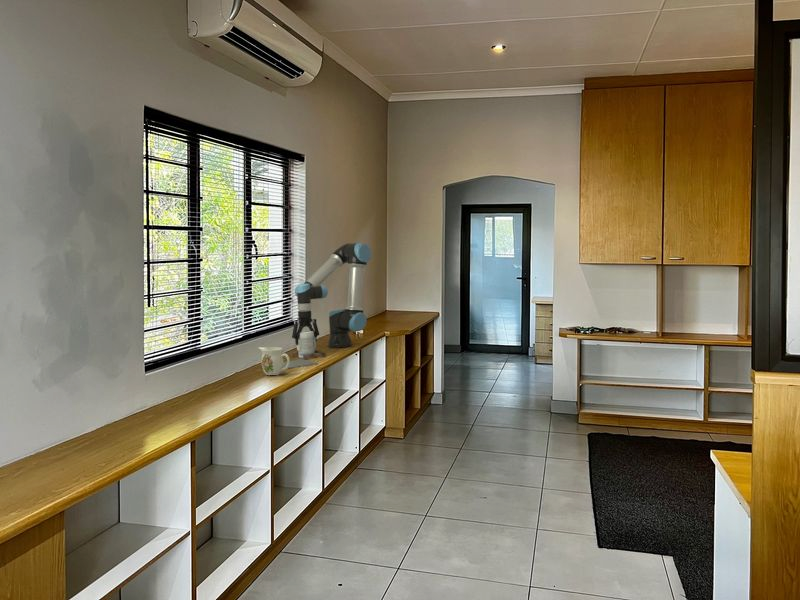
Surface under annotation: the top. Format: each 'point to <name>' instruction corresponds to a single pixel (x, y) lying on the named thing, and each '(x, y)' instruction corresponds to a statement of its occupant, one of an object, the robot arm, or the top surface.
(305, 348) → the supplement tub
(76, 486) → the top surface
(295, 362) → the pad
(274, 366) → the pitcher
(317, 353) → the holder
